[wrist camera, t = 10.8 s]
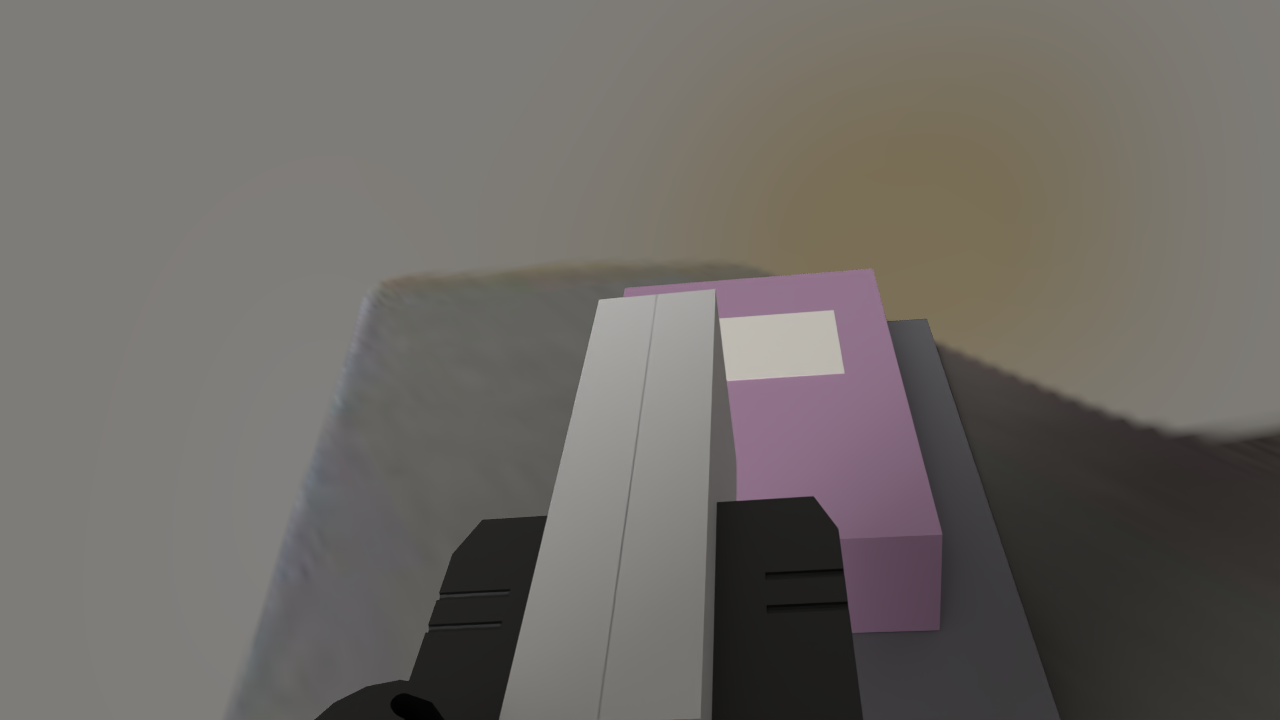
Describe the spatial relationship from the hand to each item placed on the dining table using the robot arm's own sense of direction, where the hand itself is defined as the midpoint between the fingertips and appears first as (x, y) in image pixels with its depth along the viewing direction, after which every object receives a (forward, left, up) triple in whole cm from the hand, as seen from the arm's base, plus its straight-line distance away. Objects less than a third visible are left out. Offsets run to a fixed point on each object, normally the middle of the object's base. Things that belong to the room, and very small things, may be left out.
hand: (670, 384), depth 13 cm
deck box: (-8, -6, -13) cm, 16 cm away
